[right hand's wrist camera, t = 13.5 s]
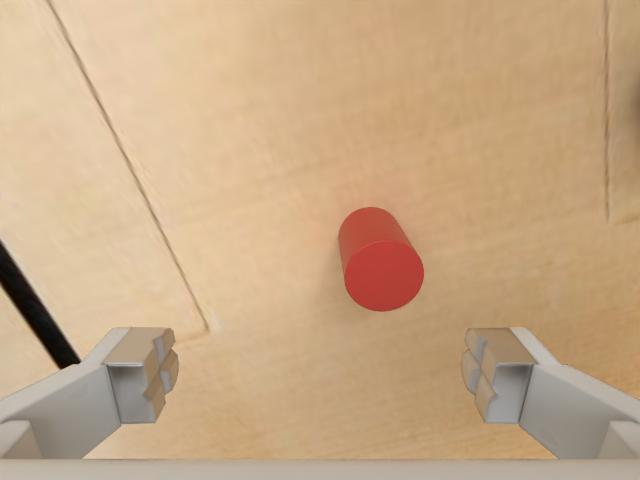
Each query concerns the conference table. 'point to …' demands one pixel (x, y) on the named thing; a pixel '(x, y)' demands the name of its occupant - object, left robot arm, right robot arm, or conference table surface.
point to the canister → (378, 261)
